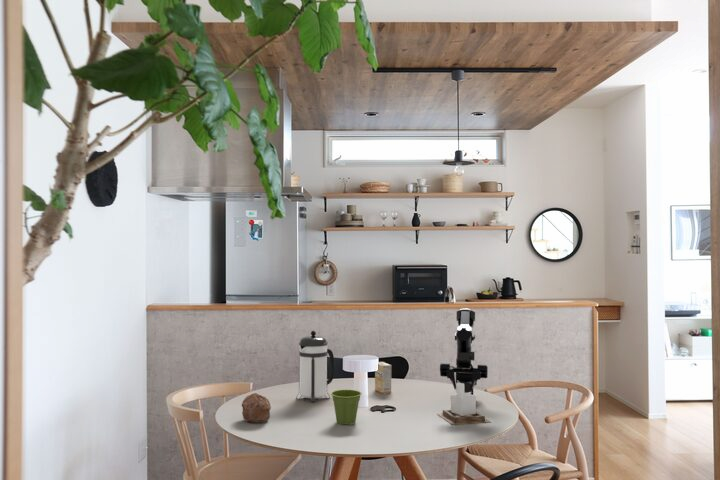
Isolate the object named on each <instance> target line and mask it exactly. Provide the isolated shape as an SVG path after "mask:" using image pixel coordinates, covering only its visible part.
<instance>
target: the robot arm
mask: <svg viewBox="0 0 720 480" xmlns="http://www.w3.org/2000/svg"><path fill="white" fill-rule="evenodd" d="M456 322H457V325H458V327H457V328H456V331H455V332H454V341H456V346H457V347H456V361H455V365H456V366H452V365H451V363H446V362H445V363H443V362H441V363H440V365H439V374H440V377H446V378H447V379H449V380H450V381H451V384H452V386H453V388H454V390H456V383H458V382H468V383H470V384H471V395H474V387H475V386H477V381H478V380H481V379H487V378H488V375H489V374H488V373H489V372H488V370H489V369H488V366H487V364H477V367H474V365H472V361H475V351H472V343H473V341H475V339H476V335H475V333H474V332H473V328H474V325H475V323H474V322H476V312H475V311H474V310H472V309H471V308H460V309H459V310H456Z"/></svg>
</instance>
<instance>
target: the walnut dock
mask: <svg viewBox="0 0 720 480" xmlns="http://www.w3.org/2000/svg"><path fill="white" fill-rule="evenodd" d="M436 415H437V416H438V417H440V418H441V419H443V420H444V421H445V422H446V423H449V424H450V425H451V426H460V425H461V426H462V425H472V424H473V425H474V424H475V425H476V424H487V423H489V422H490V423H492V421H491V420H489V419H487V418H486V416H485V415H483V414H482V413H480V412H479V411H477V410H476V414H472V415H467V416H460V415H457V414H455V413H452V412H451V409H442V413H436ZM490 423H489V424H490Z"/></svg>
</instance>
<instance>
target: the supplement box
mask: <svg viewBox="0 0 720 480" xmlns="http://www.w3.org/2000/svg"><path fill="white" fill-rule="evenodd" d="M377 362H378V371H375V370H374V390H375V392H378V393H381V394H383V395H385V394H386V393H387V394H391V393H392V364H389V363H386V362H385V361H377Z"/></svg>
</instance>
